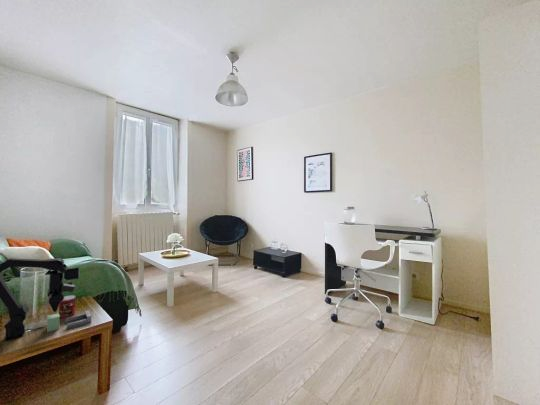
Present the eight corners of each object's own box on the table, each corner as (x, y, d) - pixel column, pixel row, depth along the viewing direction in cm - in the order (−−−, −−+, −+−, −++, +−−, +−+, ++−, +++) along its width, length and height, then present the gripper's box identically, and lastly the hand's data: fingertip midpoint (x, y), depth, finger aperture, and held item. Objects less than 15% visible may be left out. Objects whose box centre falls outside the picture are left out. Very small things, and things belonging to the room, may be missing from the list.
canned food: (56, 319, 144) (56, 301, 144) (62, 313, 151) (62, 296, 151) (72, 317, 147) (72, 299, 147) (77, 311, 154) (77, 294, 154)
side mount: (66, 329, 133) (67, 322, 133) (65, 322, 140) (65, 315, 140) (91, 322, 141) (91, 315, 141) (88, 316, 148) (88, 310, 148)
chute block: (47, 332, 130) (47, 319, 130) (46, 328, 133) (47, 316, 133) (59, 328, 133) (59, 316, 133) (58, 325, 137) (59, 313, 137)
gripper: (76, 282, 133) (75, 310, 133) (72, 274, 146) (71, 300, 146) (49, 286, 125) (47, 316, 125) (47, 278, 139) (46, 304, 138)
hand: (54, 308), depth 134 cm, fingers open, 9 cm apart
